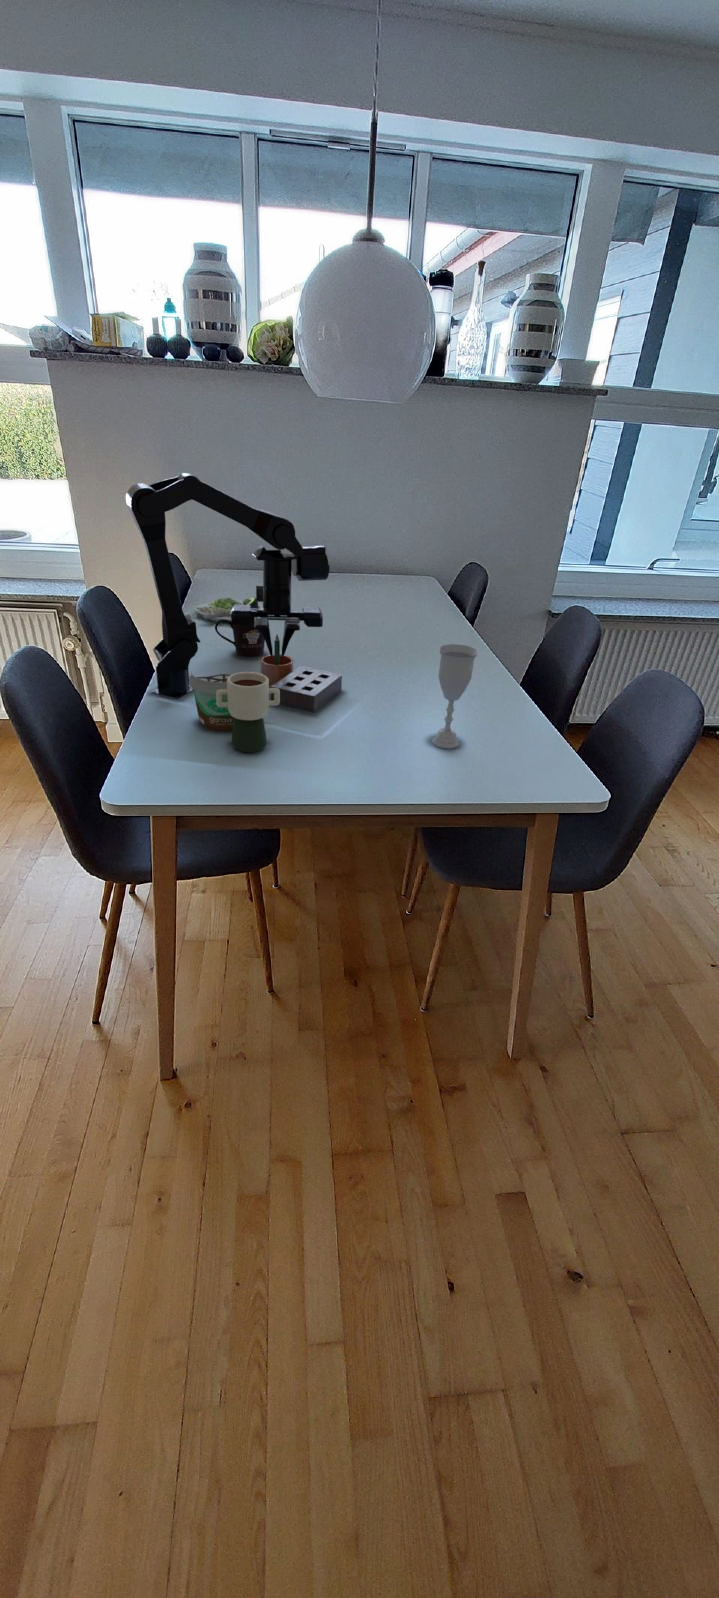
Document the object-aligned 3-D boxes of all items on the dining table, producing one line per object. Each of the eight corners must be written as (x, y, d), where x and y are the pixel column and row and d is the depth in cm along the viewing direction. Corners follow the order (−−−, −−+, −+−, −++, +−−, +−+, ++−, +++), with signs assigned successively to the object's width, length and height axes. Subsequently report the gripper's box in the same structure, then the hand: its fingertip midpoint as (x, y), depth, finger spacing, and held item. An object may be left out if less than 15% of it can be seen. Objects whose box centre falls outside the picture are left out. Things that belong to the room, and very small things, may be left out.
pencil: (278, 681, 150) (278, 635, 145) (273, 680, 150) (273, 634, 145) (280, 680, 151) (280, 634, 145) (275, 679, 151) (276, 633, 146)
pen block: (341, 692, 148) (342, 674, 146) (313, 714, 137) (314, 696, 135) (300, 683, 151) (300, 665, 149) (270, 704, 140) (270, 686, 138)
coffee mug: (271, 650, 168) (271, 609, 163) (263, 662, 161) (263, 620, 156) (224, 646, 169) (223, 605, 164) (214, 657, 162) (212, 615, 156)
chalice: (441, 730, 135) (453, 641, 125) (470, 742, 131) (485, 651, 122) (419, 742, 130) (431, 650, 120) (450, 754, 126) (463, 660, 117)
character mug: (276, 737, 128) (277, 670, 121) (282, 754, 122) (282, 685, 115) (217, 739, 125) (214, 672, 118) (219, 757, 119) (216, 687, 113)
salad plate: (226, 630, 179) (226, 613, 177) (178, 615, 187) (177, 598, 185) (275, 615, 193) (275, 599, 191) (228, 602, 201) (228, 586, 199)
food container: (193, 736, 126) (190, 685, 121) (191, 722, 131) (187, 672, 126) (260, 732, 129) (260, 682, 124) (256, 718, 134) (255, 669, 129)
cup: (283, 690, 147) (283, 667, 144) (255, 684, 149) (255, 661, 146) (298, 680, 152) (298, 658, 150) (270, 674, 155) (270, 652, 152)
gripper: (319, 573, 148) (317, 643, 156) (231, 570, 145) (233, 642, 153) (324, 586, 138) (321, 661, 146) (230, 583, 136) (232, 659, 144)
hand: (277, 655), depth 148 cm, fingers closed
